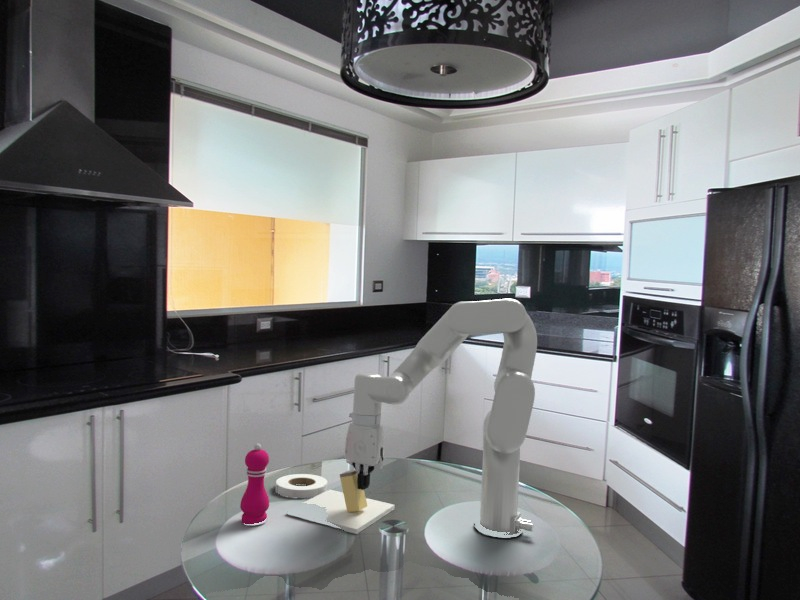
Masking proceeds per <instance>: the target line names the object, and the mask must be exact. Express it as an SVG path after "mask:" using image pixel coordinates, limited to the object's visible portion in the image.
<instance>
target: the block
mask: <svg viewBox="0 0 800 600" xmlns="http://www.w3.org/2000/svg"><path fill="white" fill-rule="evenodd" d="M357 475H358V474H357V473H356V470H355V469H349V470H346V471H344V472H342V473H340V474H339V478H340V484H341V487H342V492H343V494H344V499H345V503H346V508H347V512H354V511H360V510H362V509H363V508H365V507H367V501H366V498H367V497H366V493H365V489H364V490H361V489H358V484H357Z"/></svg>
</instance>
